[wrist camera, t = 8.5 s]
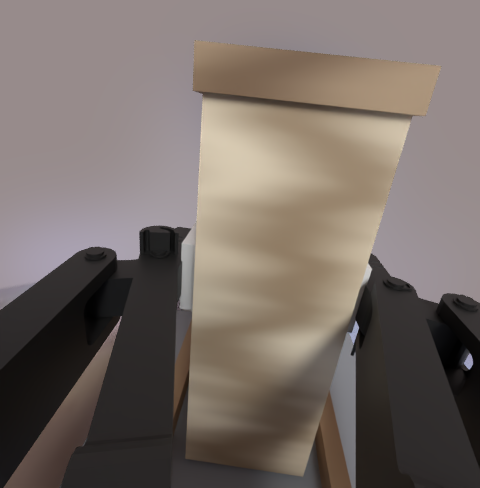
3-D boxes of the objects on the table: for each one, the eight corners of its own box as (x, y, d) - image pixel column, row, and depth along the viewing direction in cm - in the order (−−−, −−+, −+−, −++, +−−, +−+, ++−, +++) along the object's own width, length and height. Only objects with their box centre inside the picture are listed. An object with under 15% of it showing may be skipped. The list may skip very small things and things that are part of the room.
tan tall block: (179, 462, 13) (194, 40, 7) (212, 333, 20) (232, 79, 14) (308, 482, 13) (441, 65, 7) (292, 344, 20) (348, 92, 14)
